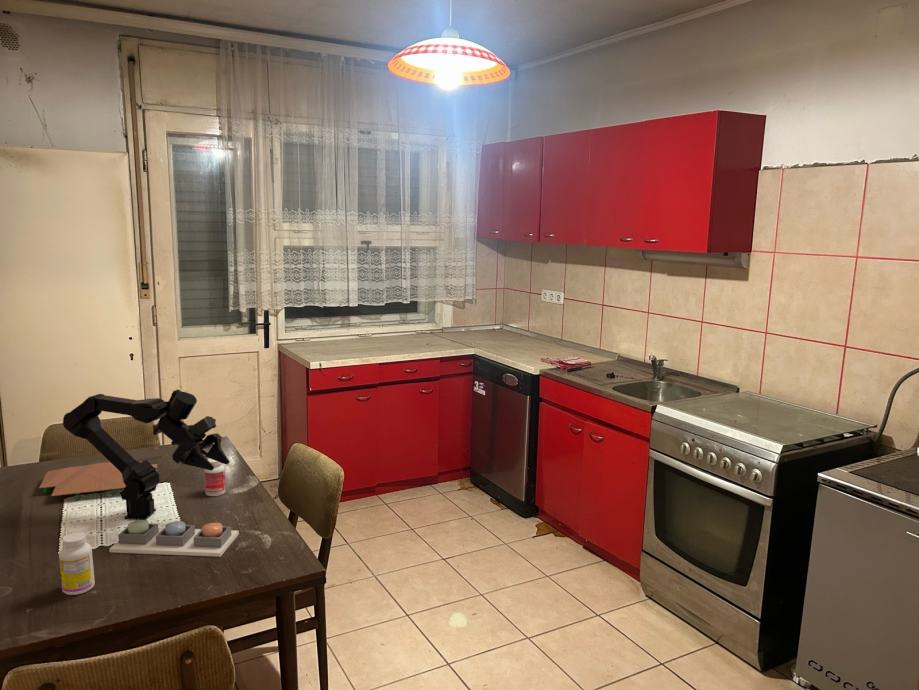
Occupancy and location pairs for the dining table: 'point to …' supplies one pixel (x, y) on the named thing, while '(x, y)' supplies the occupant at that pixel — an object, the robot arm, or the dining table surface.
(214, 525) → the terracotta button
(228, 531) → the button panel
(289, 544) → the dining table surface
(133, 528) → the sage button
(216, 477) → the pill bottle
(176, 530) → the slate blue button
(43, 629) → the dining table surface
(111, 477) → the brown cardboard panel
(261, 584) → the dining table surface
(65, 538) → the supplement bottle
